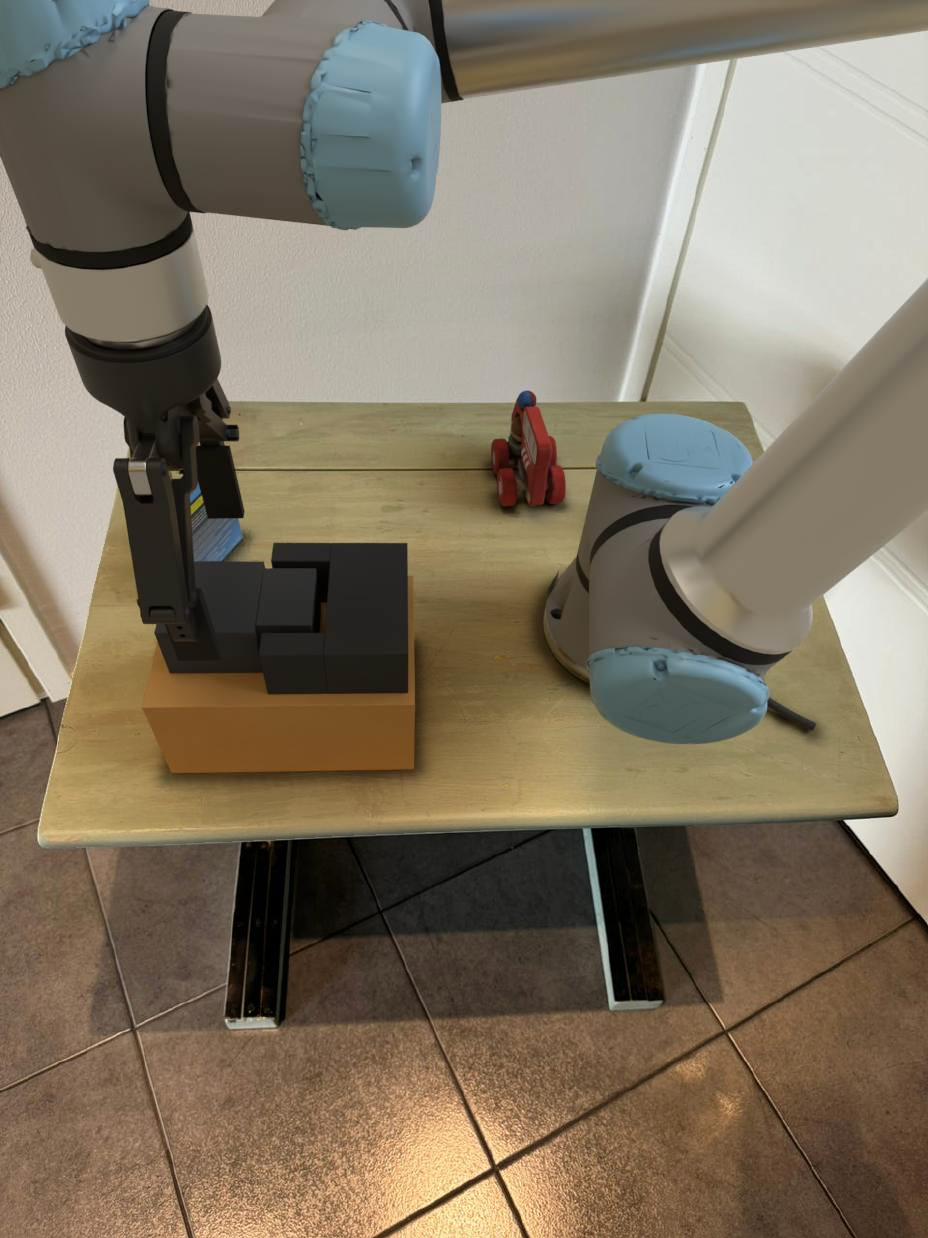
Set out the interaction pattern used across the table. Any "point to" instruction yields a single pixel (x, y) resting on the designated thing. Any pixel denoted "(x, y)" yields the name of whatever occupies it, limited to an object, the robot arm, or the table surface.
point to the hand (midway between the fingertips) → (214, 581)
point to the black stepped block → (248, 612)
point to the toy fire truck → (528, 458)
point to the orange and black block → (306, 679)
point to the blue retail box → (211, 532)
